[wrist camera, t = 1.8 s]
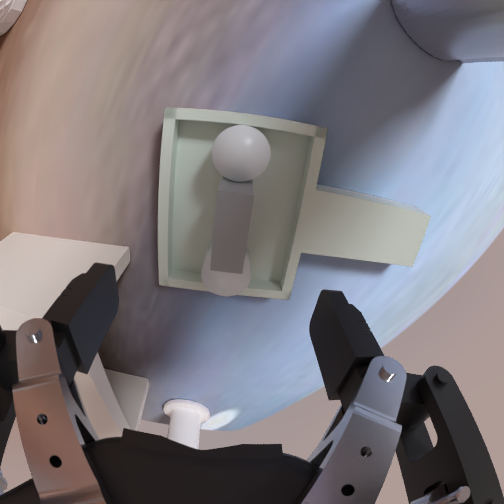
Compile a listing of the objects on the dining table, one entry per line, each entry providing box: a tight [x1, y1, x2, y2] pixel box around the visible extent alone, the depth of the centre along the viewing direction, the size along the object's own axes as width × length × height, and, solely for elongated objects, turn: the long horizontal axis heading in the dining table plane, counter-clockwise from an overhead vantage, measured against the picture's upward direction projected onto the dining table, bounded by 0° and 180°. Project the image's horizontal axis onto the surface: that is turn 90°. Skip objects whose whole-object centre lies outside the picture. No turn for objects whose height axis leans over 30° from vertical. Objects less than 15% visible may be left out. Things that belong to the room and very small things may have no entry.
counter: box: [0, 232, 150, 440], centre depth 22 cm, size 16×21×11 cm
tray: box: [158, 108, 431, 300], centre depth 19 cm, size 22×14×6 cm, turn 82°
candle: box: [163, 399, 210, 449], centre depth 24 cm, size 7×7×25 cm
